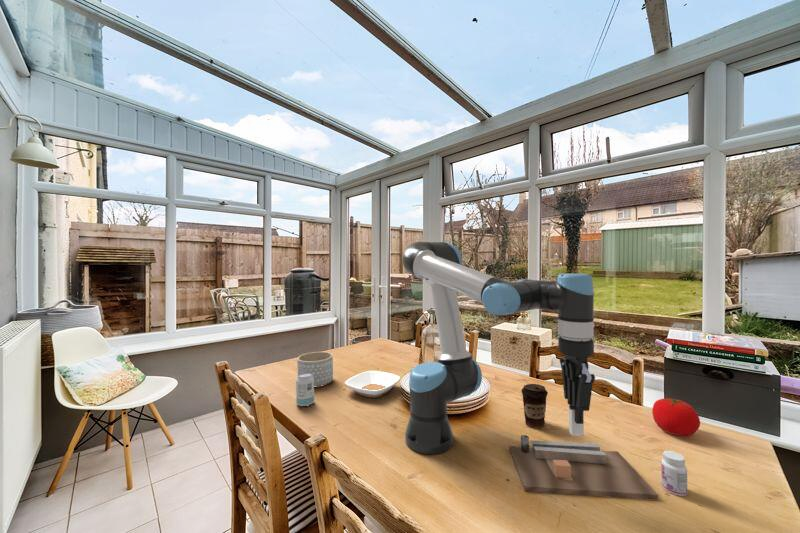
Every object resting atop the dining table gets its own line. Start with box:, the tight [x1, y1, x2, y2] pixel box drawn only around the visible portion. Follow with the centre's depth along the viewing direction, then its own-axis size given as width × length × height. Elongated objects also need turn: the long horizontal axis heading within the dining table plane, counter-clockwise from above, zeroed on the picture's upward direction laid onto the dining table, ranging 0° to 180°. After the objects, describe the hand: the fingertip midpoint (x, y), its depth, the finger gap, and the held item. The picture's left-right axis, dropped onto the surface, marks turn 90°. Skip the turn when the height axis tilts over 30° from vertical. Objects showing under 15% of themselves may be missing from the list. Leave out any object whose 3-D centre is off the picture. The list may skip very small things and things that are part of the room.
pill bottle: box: [660, 450, 689, 497], centre depth 76 cm, size 5×5×8 cm
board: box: [508, 445, 660, 501], centre depth 83 cm, size 30×17×1 cm, turn 83°
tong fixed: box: [520, 434, 601, 453], centre depth 90 cm, size 21×2×4 cm, turn 83°
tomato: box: [651, 397, 701, 437], centre depth 102 cm, size 11×12×10 cm
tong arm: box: [534, 446, 607, 464], centre depth 87 cm, size 18×2×2 cm, turn 80°
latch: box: [553, 460, 571, 478], centre depth 81 cm, size 4×2×3 cm, turn 83°
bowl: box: [344, 370, 402, 398], centre depth 140 cm, size 22×22×5 cm
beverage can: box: [295, 373, 315, 407], centre depth 128 cm, size 7×7×12 cm
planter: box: [296, 351, 334, 386], centre depth 151 cm, size 16×16×13 cm
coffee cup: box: [520, 383, 549, 429], centre depth 108 cm, size 9×8×13 cm
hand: (576, 433), depth 76 cm, fingers closed
